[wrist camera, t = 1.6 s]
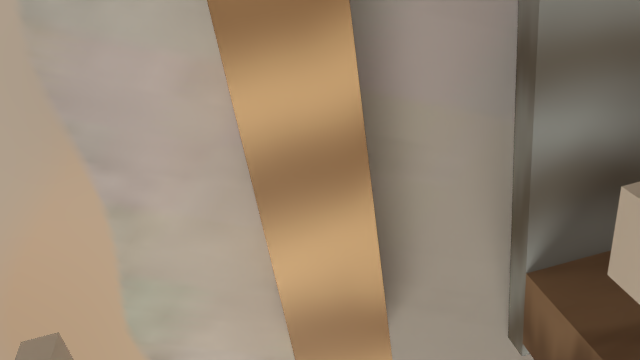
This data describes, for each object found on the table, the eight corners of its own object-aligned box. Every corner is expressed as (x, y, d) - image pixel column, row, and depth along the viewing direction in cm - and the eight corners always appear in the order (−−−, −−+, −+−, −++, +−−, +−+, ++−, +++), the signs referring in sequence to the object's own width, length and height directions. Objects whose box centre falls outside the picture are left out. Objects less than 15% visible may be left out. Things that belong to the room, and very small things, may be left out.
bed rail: (369, 350, 30) (400, 427, 25) (299, 370, 29) (318, 452, 25) (271, -316, 16) (302, -393, 12) (136, -298, 16) (115, -371, 11)
